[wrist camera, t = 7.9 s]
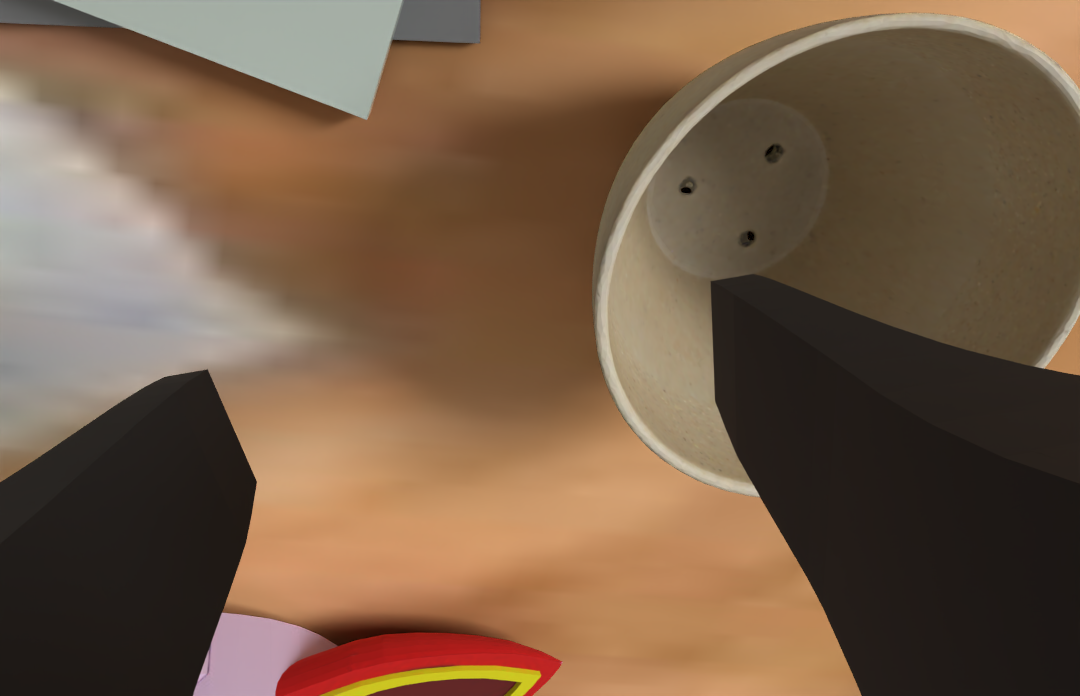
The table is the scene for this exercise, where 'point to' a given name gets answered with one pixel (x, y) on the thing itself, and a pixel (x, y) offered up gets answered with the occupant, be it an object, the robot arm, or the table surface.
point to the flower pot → (841, 208)
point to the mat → (427, 15)
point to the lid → (274, 40)
